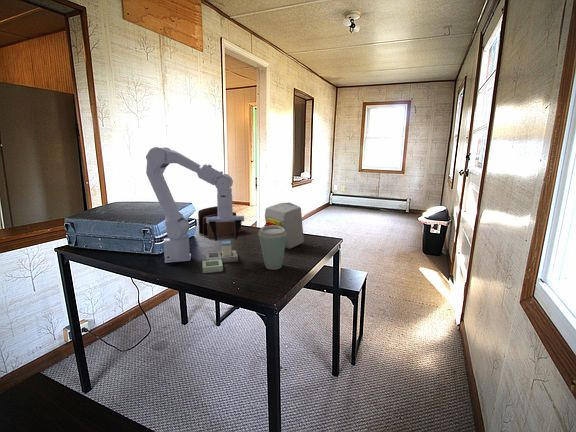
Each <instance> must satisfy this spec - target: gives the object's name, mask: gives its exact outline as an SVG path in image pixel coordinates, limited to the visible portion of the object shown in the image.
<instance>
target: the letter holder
mask: <svg viewBox="0 0 576 432" xmlns="http://www.w3.org/2000/svg"><path fill="white" fill-rule="evenodd" d="M215 216H218V207H217V205H216V206H211V207H205V208H202V209H199V210H198V212H197V217H198V219H197V220H198V234H200V235H199V236H201V235H202V236H201V237H203V236H204V238H205V237H206V238H205V239H207V238H209V239H213V238H214V239H215V236H214V233H213V231H212V229H211V227H210V225H209V223H206V217H215ZM233 216H237V213H236V212H233ZM234 233H235V227H234V222H216V234H217V238H219V237H223V236H228V235H233V234H234ZM238 233H242V226H241V227H240V229H239V231H238Z"/></svg>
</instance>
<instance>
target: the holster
mask: <svg viewBox="0 0 576 432" xmlns="http://www.w3.org/2000/svg"><path fill="white" fill-rule="evenodd" d="M201 261H202V273H203V274H205V273H206V274H207V273H217V272H218V273H219V272H223V271H224V266H223V263H222V260H221V259H219V260H208V261H206V260H201Z"/></svg>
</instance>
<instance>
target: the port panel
mask: <svg viewBox="0 0 576 432" xmlns="http://www.w3.org/2000/svg"><path fill="white" fill-rule="evenodd" d="M231 255H232V256H222V250H221V251H211V252H205V259H206V260H205V261H208V260H219V259H221V260H222V264H223V263H224V264H225V263H233V262H235V263H236V262H239V256H238V253H237V250H236V249H235V250H234V249H233V250H232V249H231Z"/></svg>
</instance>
